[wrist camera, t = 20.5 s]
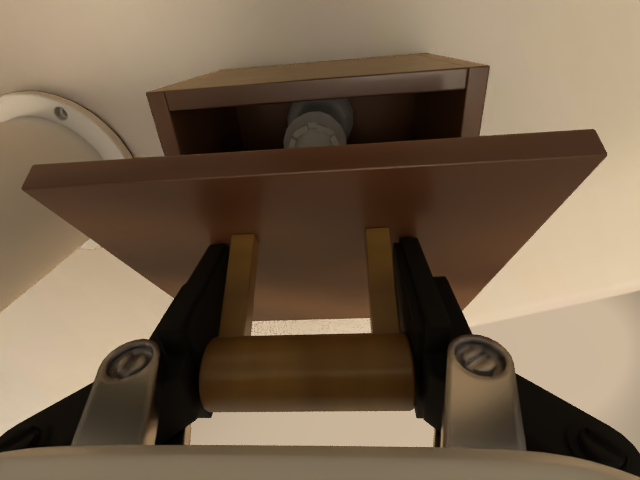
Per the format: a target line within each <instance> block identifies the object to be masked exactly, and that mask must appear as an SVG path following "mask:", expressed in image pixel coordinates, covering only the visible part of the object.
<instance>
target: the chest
mask: <svg viewBox="0 0 640 480" xmlns="http://www.w3.org/2000/svg"><path fill="white" fill-rule="evenodd" d="M489 69H490V66H489V65H484V64H479V63H474V62H469V61H464V60H459V59H454V58H449V57H444V56H439V55H434V54H429V53H420V54H408V55H396V56H384V57H371V58H359V59H347V60H335V61H323V62H310V63H298V64H286V65H274V66H261V67H249V68H237V69H225V70H219V71H216V72H213V73H209V74H206V75H202V76H199V77H196V78H192V79H189V80H186V81H182V82H179V83H176V84H172V85H169V86H165V87H162V88H159V89H155V90H152V91H149V92H146V96H147V99H148V102H149V106H150V109H151V112H152V116H153V119H154V122H155V125H156V129H157V132H158V135H159V139H160V142H161V145H162V149H163V152H164V155H165V156H178V155H193V154H209V153H225V152H241V151H256V150H272V149H284V143H283V141H284V137H285V133H286V130H287V128H288V121H287V116H288V111H289V108H290V104H291V102H302V101H316V100H329V99H343V98H348V100H349V102H350V105H351V107H352V109H353V127H352V130H351V132H350V135H349V138H348V139H347V145H351V144H367V143H382V142H398V141H414V140H429V139H445V138H461V137H477V136H479V135H480V128H481V122H482V115H483V108H484V102H485V95H486V89H487V82H488V76H489Z"/></svg>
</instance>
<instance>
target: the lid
mask: <svg viewBox="0 0 640 480" xmlns="http://www.w3.org/2000/svg"><path fill="white" fill-rule="evenodd" d="M606 156H607V152H606V150H605V148H604V146H603V144H602V142H601V140H600V138H599V136H598V135H597V133H596V131H595V130H594V129H587V130H571V131H555V132H540V133H524V134H508V135H492V136H477V137H461V138H445V139H429V140H414V141H398V142H382V143H367V144H351V145H335V146H319V147H304V148H288V149H272V150H256V151H241V152H225V153H209V154H193V155H178V156H162V157H146V158H130V159H115V160H99V161H83V162H67V163H52V164H36V165H33V166H32V167H31V169H30V171H29V173H28V175H27V177H26V179H25V181H24V183H23V185H22V187H21V189H22V190H23V191H24V192H25V193H27V194H28V195H30V196H31V197H32V198H34V199H35V200H37V201H38V202H40V203H41V204H42V205H44V206H45V207H47V208H48V209H49V210H51V211H52V212H54V213H55V214H56V215H58V216H59V217H61V218H62V219H63V220H65V221H66V222H68V223H69V224H70V225H72V226H73V227H75V228H76V229H77V230H79V231H80V232H82V233H83V234H84V235H86V236H87V237H89V238H90V239H92V240H93V241H94V242H96V243H97V244H99V245H100V246H101V247H103V248H104V249H106V250H107V251H108V252H110V253H111V254H113V255H114V256H115V257H117V258H118V259H120V260H121V261H122V262H124V263H125V264H127V265H128V266H129V267H131V268H132V269H134V270H135V271H136V272H138V273H139V274H141V275H142V276H144V277H145V278H146V279H148V280H149V281H151V282H152V283H153V284H155V285H156V286H158V287H159V288H160V289H162V290H163V291H165V292H166V293H167V294H169V295H170V296H172V297H173V298H175V297H176V295H177V293H178V292H179V290H180V289H181V287H182V286H183V285H184V284H186V283H187V281H188V279H189V278H190V276H191V275H192V273H193V271H194V270H195V268H196V266H197V265H198V263H199V261H200V260H201V258H202V256H203V255H204V253H205V252H206V250H207V248H208V247H209V245H212V244H227V245H228V246H229V248H230V252H229V260H228V267H227V275H226V282H225V290H224V297H223V305H222V313H221V320H220V328H219V335H218V337H215V338H213V339H211V340H210V341H209V343H208V344H207V346H206V348H205V350H204V353H203V356H202V360H201V365H200V371H199V395H200V400H201V403H202V406H203V408H204V409H205V410H207V411H209V412H294V411H295V412H299V411H300V412H302V411H303V412H304V411H411V410H412V409H414V406H415V401H416V378H415V367H414V360H413V354H412V349H411V344H410V341H409V339H408V337H407V335H406V334H405V333H401V331H400V322H399V313H398V304H397V295H396V286H395V277H394V268H393V259H392V249H393V243H398V242H399V239H400V238H418V240H419V243H420V245H421V248H422V250H423V253H424V255H425V258H426V260H427V263H428V266H429V268H430V271H431V273H432V276H433V277H438V276H445V277H446V278H447V280H448V281H449V284H450V286H451V288H452V290H453V293H454V295H455V297H456V299H457V301H458V304H459V306H460V308H461V310H462V311H463V309H464V308H465V307H466V306H467V305H468V304H469V303H470V302H471V301H472V300H473V299H474V298H475V297H476V296H477V294H478V293H479V292H480V291H481V290H482V289H483V288H484V287H485V286H486V285H487V284H488V283H489V282H490V281H491V279H492V278H493V277H494V276H495V275H496V274H497V273H498V272H499V271H500V270H501V269H502V268H503V267H504V266H505V265H506V263H507V262H508V261H509V260H510V259H511V258H512V257H513V256H514V255H515V254H516V253H517V252H518V251H519V250H520V248H521V247H522V246H523V245H524V244H525V243H526V242H527V241H528V240H529V239H530V238H531V237H532V236H533V235H534V233H535V232H536V231H537V230H538V229H539V228H540V227H541V226H542V225H543V224H544V223H545V222H546V221H547V220H548V218H549V217H550V216H551V215H552V214H553V213H554V212H555V211H556V210H557V209H558V208H559V207H560V206H561V205H562V204H563V202H564V201H565V200H566V199H567V198H568V197H569V196H570V195H571V194H572V193H573V192H574V191H575V190H576V189H577V187H578V186H579V185H580V184H581V183H582V182H583V181H584V180H585V179H586V178H587V177H588V176H589V175H590V174H591V172H592V171H593V170H594V169H595V168H596V167H597V166H598V165H599V164H600V163H601V162H602V161H603V160H604V159H605V158H606ZM346 318H370V324H371V333H360V334H317V335H274V336H251V328H252V321H271V320H308V319H346Z"/></svg>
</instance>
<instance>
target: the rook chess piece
mask: <svg viewBox="0 0 640 480" xmlns="http://www.w3.org/2000/svg"><path fill="white" fill-rule="evenodd" d="M287 121H288V128H287V130H286V133H285V137H284V141H283V143H284V149H288V148H304V147H319V146H335V145H347V139H348V138H349V135H350V132H351V130H352V127H353V109H352V107H351V105H350V102H349V100H348V98H343V99H329V100H316V101H302V102H291V104H290V108H289V111H288V116H287Z"/></svg>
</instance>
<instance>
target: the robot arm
mask: <svg viewBox="0 0 640 480" xmlns="http://www.w3.org/2000/svg"><path fill="white" fill-rule="evenodd" d="M130 158H132V156H131V154H130V152H129V151H128V149H127V148H126V147H125V145H124V144H123V142H122V141H121V139H120V138H119V137H118V136H117V135H116V134H115V133H114V132H113V131H112V130H111V129H110V128H109V127H108V125H106V124H105V123H104V122H103V121H101V120H100V119H99V118H98V117H96V116H95V115H94V114H93V113H91V112H90V111H88V110H86V109H85V108H83V107H81V106H80V105H78V104H76V103H75V102H72V101H70V100H67V99H65V98H62V97H60V96H57V95H53V94H49V93H44V92H40V91H20V92H14V93H7V94H3V95H0V312H2V311H3V310H4V309H5V308H6V307H8V306H9V305H10V304H11V303H12V302H14V301H15V300H16V299H17V298H19V297H20V296H21V295H22V294H23V293H25V292H26V291H27V290H28V289H29V288H31V287H32V286H33V285H34V284H36V283H37V282H38V281H39V280H40V279H42V278H43V277H44V276H45V275H46V274H48V273H49V272H50V271H51V270H52V269H54V268H55V267H56V266H57V265H59V264H60V263H61V262H62V261H63V260H65V259H66V258H67V257H68V256H69V255H71V254H72V253H73V252H74V251H75V250H77V249H83V250H91V249H98V248H103V247H101V246H100V245H99V244H97V243H96V242H94V241H93V240H92V239H90V238H89V237H87V236H86V235H84V234H83V233H82V232H80V231H79V230H77V229H76V228H75V227H73V226H72V225H70V224H69V223H68V222H66V221H65V220H63V219H62V218H61V217H59V216H58V215H56V214H55V213H54V212H52V211H51V210H49V209H48V208H47V207H45V206H44V205H42V204H41V203H40V202H38V201H37V200H35V199H34V198H32V197H31V196H30V195H28V194H27V193H25V192H24V191H23V190H22V189H21V187H22V185H23V183H24V181H25V179H26V177H27V175H28V173H29V171H30V169H31V167H32V166H33V165H36V164H52V163H67V162H83V161H99V160H115V159H130ZM229 252H230V248H229V246H228V245H227V244H212V245H209V247H208V248H207V250H206V252H205V253H204V255H203V256H202V258H201V260H200V261H199V263H198V265H197V266H196V268H195V270H194V271H193V273H192V275H191V276H190V278H189V279H188V281H187V283H186V284H184V285H183V286H182V287H181V289H180V290H179V292H178V293H177V295H176V297H175V298H174V300H173V302H172V303H171V305H170V306H169V308H168V310H167V311H166V313H165V314H164V316H163V318H162V319H161V321H160V322H159V324H158V326H157V327H156V329H155V331H154V332H153V334H152V335H151V337H150V339H149V340H148V339H139V340H134V341H131V342H127V343H125V344H123V345H121V346H119V347H117V348H116V349H115V350H113V351H112V352H111V353H109V354H108V356H107V357H106V358H105V359H104V360H103V361H102V363H101V365H100V367H99V369H98V372H97V375H96V378H95V380H94V382H93V383H91V384H89V385H88V386H86V387H84V388H82V389H80V390H79V391H77V392H75V393H73V394H71V395H70V396H68V397H66V398H64V399H62V400H61V401H59V402H57V403H55V404H53V405H52V406H50V407H48V408H46V409H44V410H42V411H41V412H39V413H37V414H35V415H33V416H32V417H30V418H28V419H26V420H24V421H23V422H21V423H19V424H17V425H16V426H14V427H13V428H11V429H10V430H8V431H7V432H5V433H4V434H3V435H2V436H1V437H0V480H640V453H639V452H638V451H637V449H636V448H635V446H633V444H632V443H631V442H630V441H628V440H627V439H626V438H625V437H624V436H623V435H622V434H621V433H619V432H617V431H616V430H615V429H613V428H612V427H610V426H609V425H607V424H605V423H603V422H601V421H599V420H598V419H596V418H594V417H592V416H591V415H589V414H587V413H585V412H584V411H582V410H580V409H578V408H577V407H575V406H573V405H571V404H569V403H567V402H566V401H564V400H562V399H560V398H559V397H557V396H555V395H553V394H552V393H550V392H548V391H546V390H544V389H543V388H541V387H539V386H537V385H535V384H534V383H532V382H530V381H528V380H527V379H525V378H523V377H521V376H519V375H518V374H516V373H515V368H514V363H513V360H512V357H511V355H510V354H509V352H508V351H507V350H506V349H505V348H504V347H502V345H500V344H499V343H498V342H496V341H494V340H492V339H490V338H488V337H484V336H481V335H473V334H472V333H471V330H470V328H469V326H468V324H467V321H466V319H465V317H464V315H463V313H462V310H461V308H460V306H459V304H458V301H457V299H456V297H455V295H454V293H453V290H452V288H451V286H450V284H449V281H448V280H447V278H446V277H445V276H438V277H433V276H432V273H431V271H430V268H429V266H428V263H427V260H426V258H425V255H424V253H423V250H422V248H421V245H420V243H419V240H418V238H400V239H399V242H398V243H393V249H392V259H393V268H394V277H395V286H396V295H397V304H398V313H399V322H400V331H401V333H405V334H406V335H407V337H408V339H409V341H410V344H411V349H412V354H413V360H414V367H415V378H416V401H415V406H414V408H415V413H416V417H417V418H424V420H425V421H426V422H427V423H429V424H430V425H431V426H433V427H434V442H433V447H364V446H363V447H362V446H258V445H257V446H254V445H252V446H251V445H246V446H245V445H244V446H243V445H190V437H191V423H192V422H194V421H195V420H196V419H197V418H211V416H212V414H213V412H209V411H207V410H205V409H204V408H203V406H202V403H201V400H200V395H199V371H200V365H201V360H202V356H203V353H204V350H205V348H206V346H207V344H208V343H209V341H210V340H211V339H213V338H215V337H218V335H219V328H220V320H221V313H222V305H223V297H224V290H225V282H226V275H227V267H228V260H229Z"/></svg>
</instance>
